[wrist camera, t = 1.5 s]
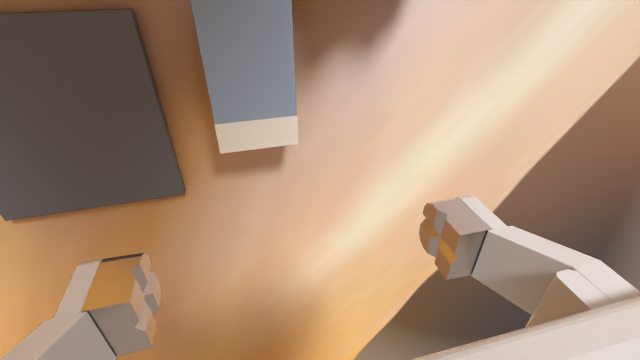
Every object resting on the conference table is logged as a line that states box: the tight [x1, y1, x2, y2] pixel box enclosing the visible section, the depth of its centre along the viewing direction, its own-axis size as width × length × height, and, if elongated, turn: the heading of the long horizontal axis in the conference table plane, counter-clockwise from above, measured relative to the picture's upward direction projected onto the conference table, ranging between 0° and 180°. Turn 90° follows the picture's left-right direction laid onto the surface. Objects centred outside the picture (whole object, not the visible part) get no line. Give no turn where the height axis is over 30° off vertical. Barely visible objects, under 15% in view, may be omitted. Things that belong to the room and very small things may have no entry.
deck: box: [190, 0, 298, 154], centre depth 24 cm, size 11×6×4 cm, turn 2°
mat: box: [0, 9, 186, 221], centre depth 25 cm, size 15×14×1 cm
